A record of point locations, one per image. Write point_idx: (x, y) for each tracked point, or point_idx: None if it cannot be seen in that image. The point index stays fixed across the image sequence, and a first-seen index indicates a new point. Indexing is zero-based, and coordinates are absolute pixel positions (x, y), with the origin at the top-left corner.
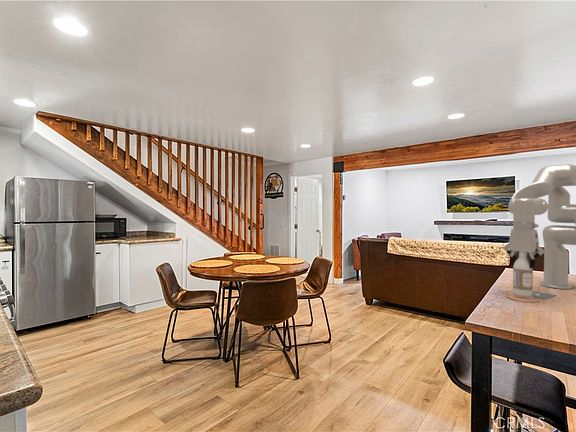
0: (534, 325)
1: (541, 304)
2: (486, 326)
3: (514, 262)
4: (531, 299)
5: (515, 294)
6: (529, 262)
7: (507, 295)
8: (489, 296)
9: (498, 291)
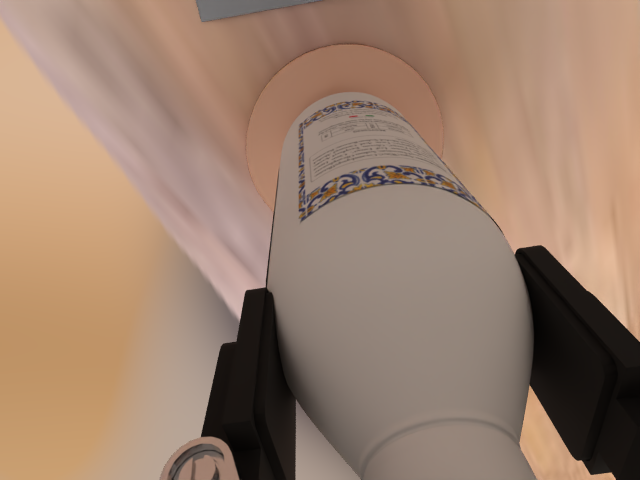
0: (555, 454)
1: (481, 168)
2: None
3: (290, 393)
4: None
5: (267, 110)
6: (530, 376)
7: (267, 199)
8: (222, 290)
9: (114, 98)
